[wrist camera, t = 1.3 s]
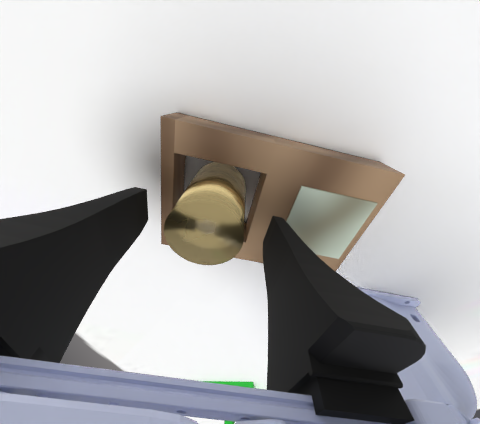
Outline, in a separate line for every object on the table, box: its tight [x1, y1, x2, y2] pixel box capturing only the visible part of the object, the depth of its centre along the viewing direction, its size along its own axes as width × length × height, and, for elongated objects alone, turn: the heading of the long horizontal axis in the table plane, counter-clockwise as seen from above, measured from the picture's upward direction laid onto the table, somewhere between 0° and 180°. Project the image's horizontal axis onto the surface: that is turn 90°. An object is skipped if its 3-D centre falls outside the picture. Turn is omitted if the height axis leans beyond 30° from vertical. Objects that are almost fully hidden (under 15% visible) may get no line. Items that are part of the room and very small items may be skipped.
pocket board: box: [161, 112, 405, 271], centre depth 14 cm, size 14×9×3 cm, turn 78°
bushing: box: [164, 162, 246, 265], centre depth 12 cm, size 4×4×6 cm
